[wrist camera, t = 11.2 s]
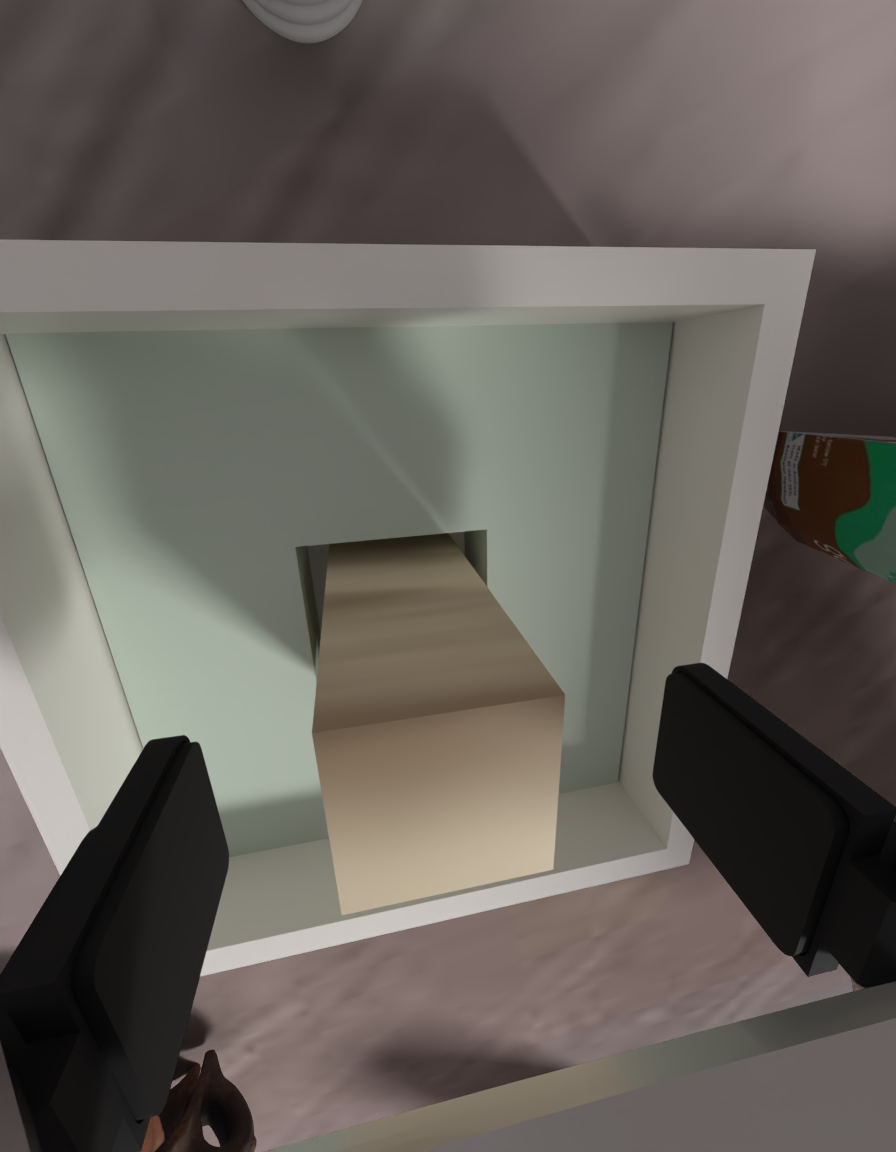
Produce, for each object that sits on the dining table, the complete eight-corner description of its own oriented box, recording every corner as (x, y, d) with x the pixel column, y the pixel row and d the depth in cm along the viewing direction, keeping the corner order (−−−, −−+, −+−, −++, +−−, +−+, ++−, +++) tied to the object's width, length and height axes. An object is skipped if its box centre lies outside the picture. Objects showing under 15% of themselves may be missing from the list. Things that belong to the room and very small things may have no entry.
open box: (593, 732, 23) (689, 864, 17) (189, 801, 20) (116, 995, 14) (632, 303, 17) (816, 249, 10) (38, 309, 13) (-238, 236, 7)
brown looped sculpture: (35, 1105, 25) (-146, 1319, 17) (97, 912, 27) (-43, 1025, 19) (259, 1153, 26) (185, 1387, 18) (308, 959, 27) (260, 1091, 19)
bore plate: (582, 732, 22) (617, 782, 19) (205, 797, 19) (182, 866, 16) (615, 333, 16) (673, 322, 13) (76, 345, 13) (5, 333, 10)
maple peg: (449, 631, 18) (553, 869, 9) (342, 644, 18) (341, 915, 9) (446, 530, 17) (565, 694, 8) (329, 540, 16) (312, 733, 7)
